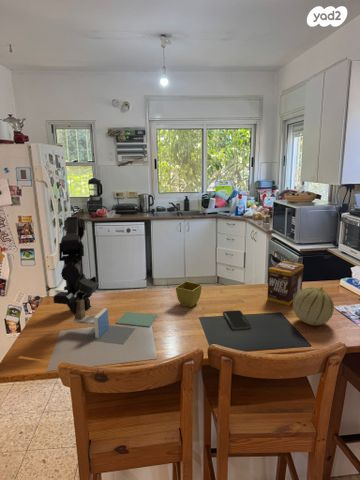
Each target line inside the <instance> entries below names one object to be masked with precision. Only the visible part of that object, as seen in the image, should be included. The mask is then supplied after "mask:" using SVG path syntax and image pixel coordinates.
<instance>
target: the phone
mask: <svg viewBox="0 0 360 480" xmlns="http://www.w3.org/2000/svg"><path fill="white" fill-rule="evenodd" d="M222 315H223V316H224V319H225V318H226V319H225V320H226V322H227V323H228V325H230V326H229V327H230V329H231V330H232V331H239V330H250V329H252V325H251V324H250V322H249V320H248V319H247V318H246V316H245V315H244V313H243V312H242V311H241V310H240V309H239V310H225V311H223V312H222Z"/></svg>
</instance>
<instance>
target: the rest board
mask: <svg viewBox="0 0 360 480" xmlns="http://www.w3.org/2000/svg"><path fill="white" fill-rule="evenodd" d="M157 318H158V314H151V313H143V312H133V311H132V312H131V311H125V312H124V313H123V315H121V317H120V318H118V320H117V321H116V322H115V323H116V325H125V326H126V325H127V326H134V327H136V326H137V327H145V328H150V327H151V326H152V324H154V322H155V320H156V319H157Z"/></svg>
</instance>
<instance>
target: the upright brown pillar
mask: <svg viewBox="0 0 360 480" xmlns="http://www.w3.org/2000/svg"><path fill="white" fill-rule="evenodd" d="M95 316H96V315H88V314H87V315H86V311H85V304H84V299H78V300H77V302H76V314H74V319H73V320H72V323H75V324H77V323H78V324H85V325H92V326H93V325H94V317H95Z"/></svg>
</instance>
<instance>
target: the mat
mask: <svg viewBox="0 0 360 480" xmlns="http://www.w3.org/2000/svg"><path fill="white" fill-rule="evenodd" d="M136 329H137V328H136V327H127V326H118V325H111V324H109V328H108V329H107V330H106V331H105V332H104V334H103V335H102V336H101V337H100V338H95V326H94V327H93V328H91V330H89V331H88V333H87V334H86V335H85V336H84V337H83V338H82V339H81V340H84V341H90V342H91V341H92V342H99V343H101V342H102V343H106V344H107V343H108V344H116V345H124V344H125V343H126V341H127V340H128V339H129V338H130V337H131V335H132V334H133V333H134V331H135V330H136Z"/></svg>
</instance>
